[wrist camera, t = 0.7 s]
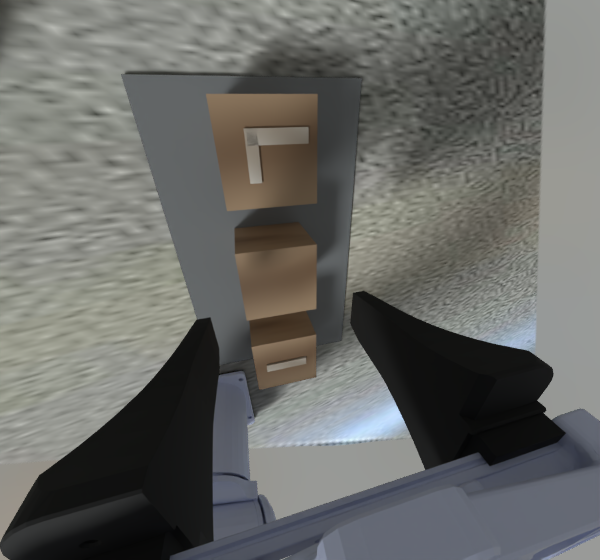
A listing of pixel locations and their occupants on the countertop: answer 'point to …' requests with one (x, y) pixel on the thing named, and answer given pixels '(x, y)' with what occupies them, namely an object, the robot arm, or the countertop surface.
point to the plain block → (276, 269)
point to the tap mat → (220, 223)
